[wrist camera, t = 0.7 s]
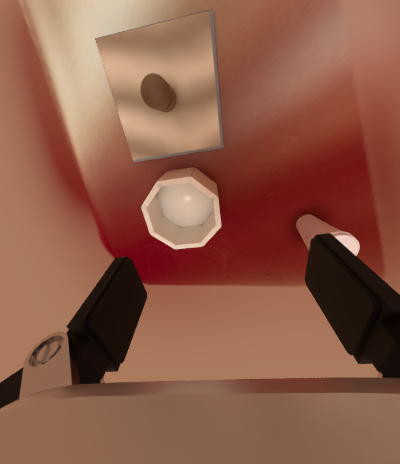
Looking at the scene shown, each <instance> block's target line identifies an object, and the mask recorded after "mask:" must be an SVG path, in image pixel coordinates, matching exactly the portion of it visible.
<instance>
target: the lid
mask: <svg viewBox="0 0 400 464" xmlns="http://www.w3.org/2000/svg"><path fill="white" fill-rule="evenodd" d="M95 40H96V43H97V46H98V49H99V53H100V56H101V59H102V62H103V65H104V69H105V72H106V75H107V78H108V81H109V85H110V88H111V91H112V94H113V97H114V101H115V104H116V107H117V110H118V113H119V117H120V120H121V123H122V126H123V129H124V133H125V136H126V139H127V142H128V145H129V149H130V152H131V155H132V158H133V160H136V159H142V158H148V157H154V156H161V155H167V154H173V153H179V152H186V151H192V150H198V149H204V148H211V147H217V146H221V143H220V131H219V119H218V108H217V96H216V84H215V72H214V61H213V49H212V37H211V26H210V14H209V11H207V12H203V13H199V14H195V15H191V16H187V17H183V18H179V19H175V20H171V21H167V22H163V23H159V24H155V25H150V26H146V27H142V28H138V29H134V30H130V31H126V32H122V33H118V34H114V35H110V36H106V37H102V38H98V39H95Z"/></svg>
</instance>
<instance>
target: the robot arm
mask: <svg viewBox="0 0 400 464" xmlns="http://www.w3.org/2000/svg"><path fill="white" fill-rule="evenodd" d="M305 282H306V285H307V287H308V289H309V290H310V292H311V293H312V295H313V297H314V298H315V300H316V302H317V303H318V305H319V307H320V308H321V310H322V312H323V313H324V315H325V316H326V318H327V320H328V321H329V323H330V325H331V326H332V328H333V330H334V331H335V333H336V335H337V336H338V338H339V340H340V341H341V343H342V345H343V346H344V348H345V350H346V351H347V352H348V353H349V354H350V355H353V356H354V357H355V359H356V361H357V362H358V364H373V365H374V367H375V368H376V369H377V371H378V378H290V379H289V378H287V379H237V380H196V381H195V380H194V381H155V382H121V383H105V382H104V378H103V376H104V374H105V372H111V371H112V372H113V371H118V369H119V366H120V364H121V363H123V361H124V359H125V357H126V354H127V351H128V349H129V346H130V343H131V340H132V338H133V335H134V332H135V329H136V327H137V324H138V321H139V318H140V316H141V313H142V310H143V307H144V305H145V302H146V299H147V292H146V290H145V288H144V285H143V283H142V281H141V279H140V277H139V274H138V272H137V270H136V268H135V266H134V263H133V261H132V260H131V259H129V258H128V257H117V258H115V259H114V261H113V262H112V264H111V265H110V266H109V268H108V269H107V271H106V272H105V274H104V275H103V276H102V278H101V279H100V281H99V282H98V283H97V285H96V286H95V288H94V289H93V290H92V292H91V293H90V295H89V296H88V297H87V299H86V300H85V302H84V303H83V304H82V306H81V307H80V309H79V310H78V311H77V313H76V314H75V316H74V317H73V319H72V320H71V321H70V323H69V324H68V325H67V327H68V329H69V330H68V332H67V333H64V332H56V333H53V334H51V335H49V336H47V337H46V338H44V339H43V340H41V341H40V342H39V343H38V344H37V345H36V346H35V347H34V348H33V349H32V350H31V351H30V353H29V354H28V356H27V357H26V359H25V362H24V367H23V368H21V369H20V370H19V371H17V372H16V373H14V374H13V375H11V376H10V377H8V378H7V379H5V380H4V381H2V382H1V383H0V464H400V295H399V294H398V293H397V292H396V291H394V289H392V288H391V287H390V286H389V285H388V284H387V283H386V282H385V281H383V280H382V279H381V278H380V277H379V276H378V275H377V274H376V273H375V272H373V271H372V270H371V269H370V268H369V267H368V266H367V265H366V264H364V263H363V262H362V261H361V260H360V259H359V258H358V257H357V256H355V255H354V254H353V253H352V252H351V251H350V250H349V249H348V248H347V247H345V246H344V245H343V244H342V243H341V242H340V241H339V240H338V239H336V238H335V237H334V236H333V235H332V234H330V233H325V234H317V235H315V237H314V238H312V239H311V242H310V249H309V255H308V262H307V268H306V274H305Z"/></svg>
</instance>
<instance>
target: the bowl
mask: <svg viewBox="0 0 400 464" xmlns="http://www.w3.org/2000/svg"><path fill="white" fill-rule="evenodd" d="M141 208H142V211H143V214H144V217H145V220H146V223H147V226H148V229H149V232H150V234H151V235H152V236H154V237H155V238H157V239H159V240H160V241H162V242H164V243H165V244H167V245H169V246H170V247H172V248H174V249H183V248H193V247H202V246H204V245H205V244H206V243H207V242H208V240H209V239H210V238H211V237H212V236H213V235H214V234H215V233H216V232H217V231H218V230H219V229H220V227H221V218H220V209H219V199H218V191H217V184H216V183H215V182H214V181H212V180H211V179H210V178H208V177H207V176H206V175H205V174H203V173H202V172H201V171H199V170H198V169H197V168H196V167H195V168H194V167H189V168H183V169H176V170H169V171H167V172H166V173H165V174H164V175H163V176H162V177H161V178H160V179H159V180H158V181H157V182H156V184H155V185H154V187H153V188H152V190H151V192H150V193H149V195H148V197H147V198H146V200H145V201H144V203H143V205H142V206H141Z"/></svg>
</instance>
